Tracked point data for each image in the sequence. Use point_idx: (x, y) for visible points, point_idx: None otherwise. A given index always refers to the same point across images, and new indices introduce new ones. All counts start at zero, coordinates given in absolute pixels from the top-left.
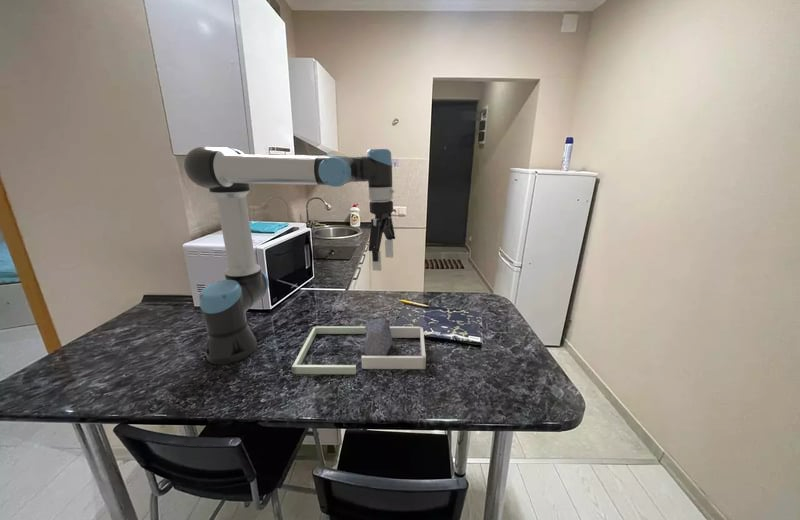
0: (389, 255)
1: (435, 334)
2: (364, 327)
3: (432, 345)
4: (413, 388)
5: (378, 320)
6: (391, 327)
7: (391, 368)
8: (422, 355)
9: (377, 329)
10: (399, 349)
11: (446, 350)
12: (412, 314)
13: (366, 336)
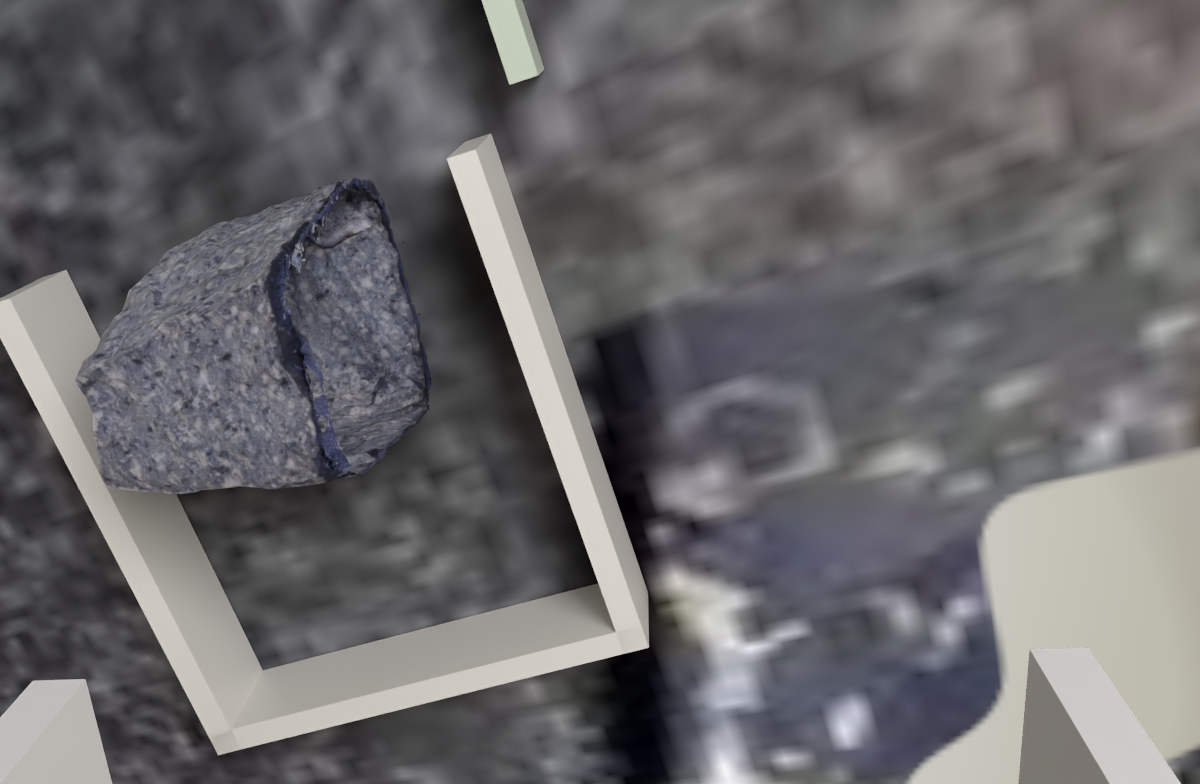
0: (1042, 780)
1: (707, 678)
2: (515, 76)
3: (543, 684)
4: (43, 665)
5: (268, 404)
6: (538, 387)
7: None
8: (235, 729)
9: (137, 439)
10: (397, 469)
11: (514, 780)
12: (1025, 415)
13: (194, 265)
